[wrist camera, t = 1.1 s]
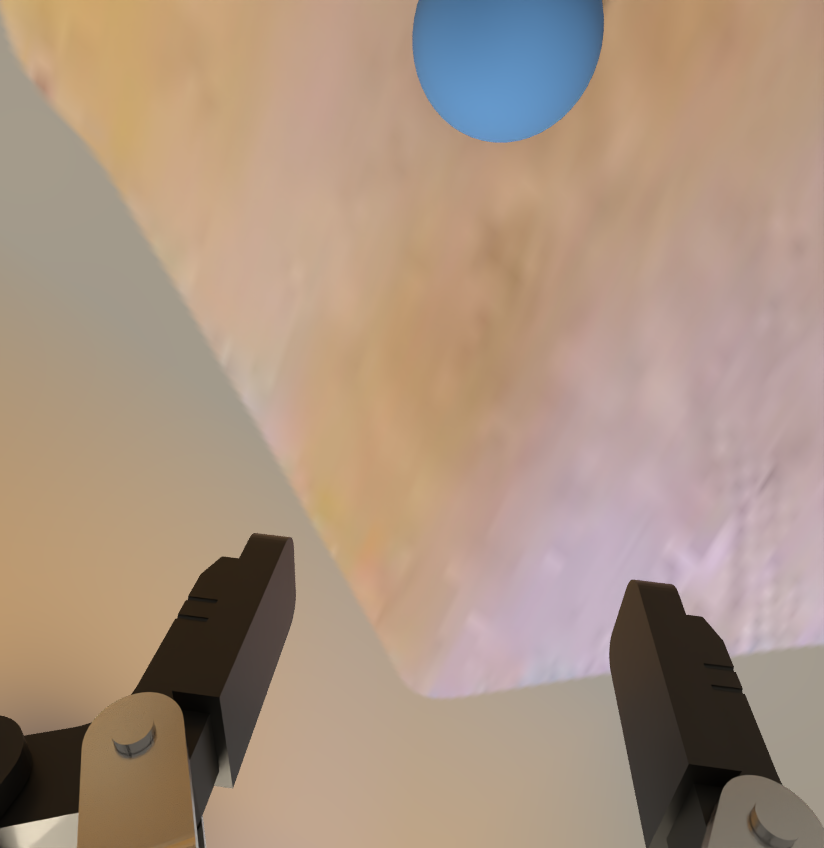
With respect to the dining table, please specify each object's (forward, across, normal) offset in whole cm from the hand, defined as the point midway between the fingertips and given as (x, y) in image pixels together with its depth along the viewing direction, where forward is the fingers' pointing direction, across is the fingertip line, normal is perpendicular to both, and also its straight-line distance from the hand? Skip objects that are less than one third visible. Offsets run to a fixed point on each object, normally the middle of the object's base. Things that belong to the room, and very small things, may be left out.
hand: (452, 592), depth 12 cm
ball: (+15, 0, -10) cm, 18 cm away
